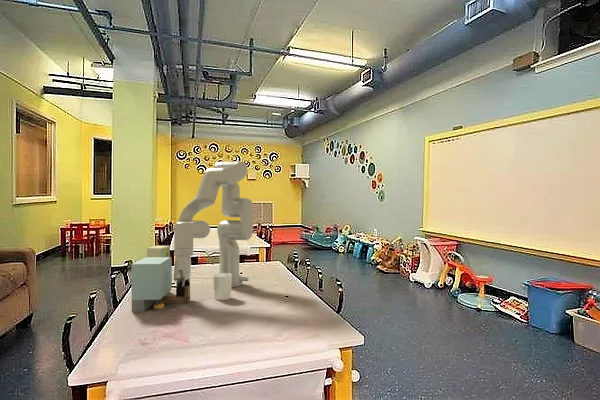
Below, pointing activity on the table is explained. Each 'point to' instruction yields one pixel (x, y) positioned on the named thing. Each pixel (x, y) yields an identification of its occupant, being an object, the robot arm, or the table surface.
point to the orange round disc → (158, 305)
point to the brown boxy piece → (176, 299)
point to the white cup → (222, 286)
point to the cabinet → (150, 281)
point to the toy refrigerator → (158, 251)
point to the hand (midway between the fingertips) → (183, 293)
